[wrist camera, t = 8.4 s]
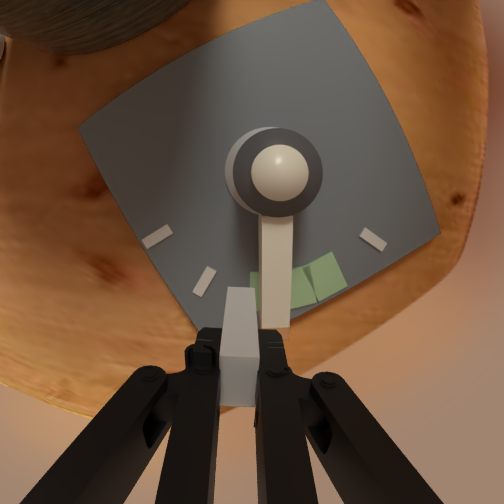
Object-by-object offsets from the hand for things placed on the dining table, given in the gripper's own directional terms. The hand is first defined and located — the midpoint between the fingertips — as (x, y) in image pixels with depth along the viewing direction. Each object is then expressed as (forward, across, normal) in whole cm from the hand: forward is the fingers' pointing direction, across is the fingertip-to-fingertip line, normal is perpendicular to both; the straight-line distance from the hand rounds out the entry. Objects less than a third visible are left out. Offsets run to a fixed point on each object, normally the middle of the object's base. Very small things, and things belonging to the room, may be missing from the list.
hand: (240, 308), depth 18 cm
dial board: (+7, +2, +8) cm, 11 cm away
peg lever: (+6, +2, +3) cm, 7 cm away
